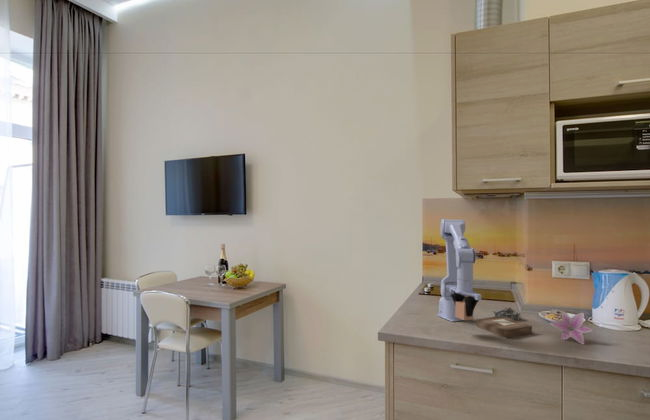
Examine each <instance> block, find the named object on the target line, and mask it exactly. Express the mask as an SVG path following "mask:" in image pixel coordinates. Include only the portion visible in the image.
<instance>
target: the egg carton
mask: <svg viewBox="0 0 650 420" xmlns="http://www.w3.org/2000/svg"><path fill="white" fill-rule="evenodd" d="M492 313H493V317H497V316H504V317H507V318H510V319H513V320H516V321H519V320H520V317H521V313H520V312H517V311H516V312H515V310H514V309H513V308H512V307H505V308H504V309H499V310H493V311H492Z"/></svg>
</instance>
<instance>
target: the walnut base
mask: <svg viewBox="0 0 650 420" xmlns="http://www.w3.org/2000/svg"><path fill="white" fill-rule="evenodd" d="M476 326H477V327H478V328H480V329H483V330H484V331H488V332H490V333H492V334H495V335H497V336H500V337H503V338H505V339H508V338H513V337H514V336H515V337H520V335H521V336H527V335H531V333H532V334H533V326H532V325H530V324H527V323H524V322H521V321H519V320H516V319H510V318H507V317H504V316H497V317H494V316H491V317H485V318H477V319H476ZM515 337H514V338H515Z"/></svg>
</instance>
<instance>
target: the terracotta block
mask: <svg viewBox="0 0 650 420" xmlns="http://www.w3.org/2000/svg"><path fill="white" fill-rule="evenodd" d="M455 317H457V318H459V319H462V320H461V321H469V320H474V313H473V314H472V316H469V317H468V316H467V315H466V304H465V301H457V302H456V306H455Z"/></svg>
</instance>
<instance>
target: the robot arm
mask: <svg viewBox="0 0 650 420" xmlns="http://www.w3.org/2000/svg"><path fill="white" fill-rule="evenodd" d="M439 226H440V228H439V229H440V237H441V239H443V240H444V241H445V242H444V243H445V253H446V276H445V277H443V278H442V279H441V281H440V295H441V297H440V299H439V302H438V314H436V316H438V317H439V318H441V319H444V320H447V321H449V322H459V321H460V322H461V321H463V320H462V319H459V318H457V317H455V306H456V302H457V301H465V304H466V315H467V316H468V317H469V316H472V314H473V315H474V310H475V307H476V306H477V304H478V302H479V301H482V294H481V293H478V292H476V291H474V285H473V284H474V264H475V263H476V256H477V255H476V254H477V253H476V249H475V248H473V247H471V245H470V243H469V239H468V238H467V237H465V236H464V234H465V232H466V221H465V220H464V219H448V218H447V219H444V218H442V219H441V220H440V225H439Z"/></svg>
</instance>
